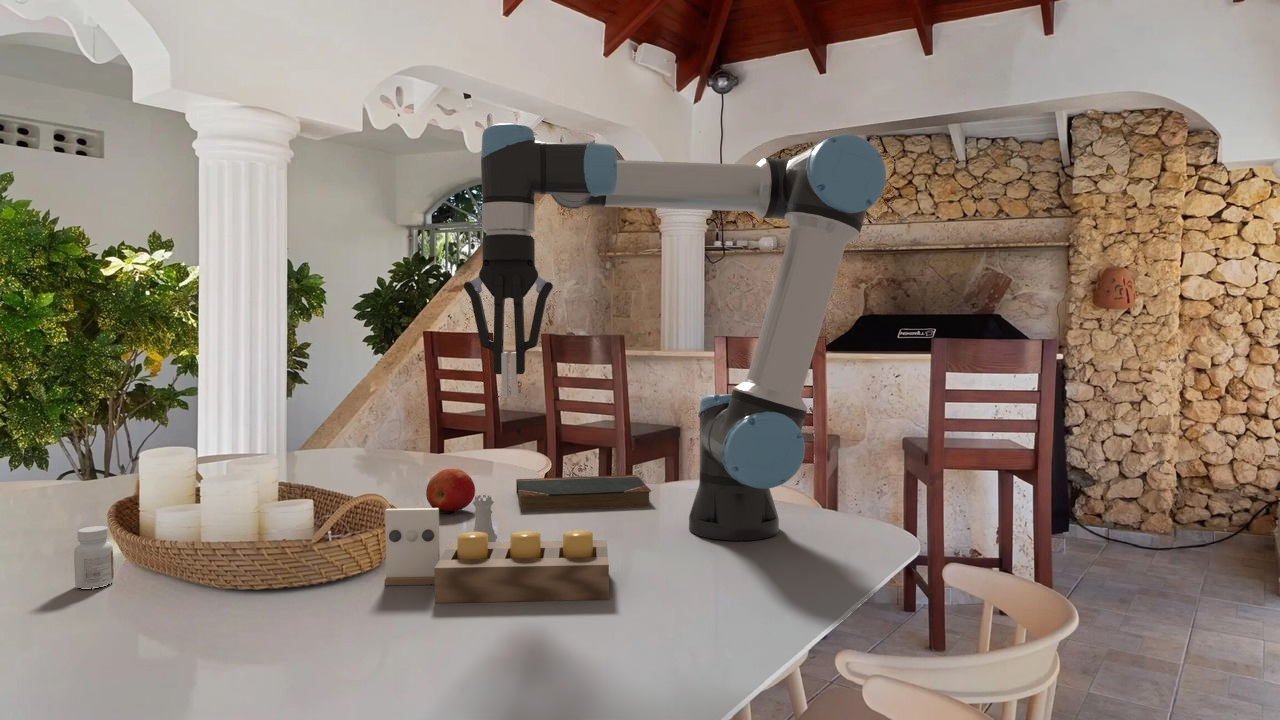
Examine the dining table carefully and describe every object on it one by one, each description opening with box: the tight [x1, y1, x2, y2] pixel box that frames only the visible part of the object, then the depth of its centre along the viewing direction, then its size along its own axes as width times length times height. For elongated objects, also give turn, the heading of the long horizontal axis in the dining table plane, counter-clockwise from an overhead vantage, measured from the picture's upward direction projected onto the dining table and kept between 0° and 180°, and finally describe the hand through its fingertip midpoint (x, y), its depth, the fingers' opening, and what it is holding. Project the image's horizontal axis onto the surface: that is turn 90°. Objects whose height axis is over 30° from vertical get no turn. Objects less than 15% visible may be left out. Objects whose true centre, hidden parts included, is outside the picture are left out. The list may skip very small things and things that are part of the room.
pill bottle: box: [73, 525, 115, 589], centre depth 115 cm, size 4×4×8 cm
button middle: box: [509, 530, 541, 559], centre depth 114 cm, size 4×4×4 cm
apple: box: [425, 468, 476, 514], centre depth 157 cm, size 8×8×8 cm
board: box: [434, 539, 610, 604], centre depth 115 cm, size 22×12×4 cm, turn 94°
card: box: [384, 507, 441, 586], centre depth 116 cm, size 7×3×10 cm, turn 94°
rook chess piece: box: [472, 494, 498, 542], centre depth 134 cm, size 4×4×8 cm
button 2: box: [562, 529, 594, 558], centre depth 115 cm, size 4×4×4 cm
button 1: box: [456, 531, 488, 560], centre depth 114 cm, size 4×4×4 cm
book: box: [515, 474, 652, 512], centre depth 169 cm, size 17×4×25 cm
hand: (509, 396), depth 125 cm, fingers closed
